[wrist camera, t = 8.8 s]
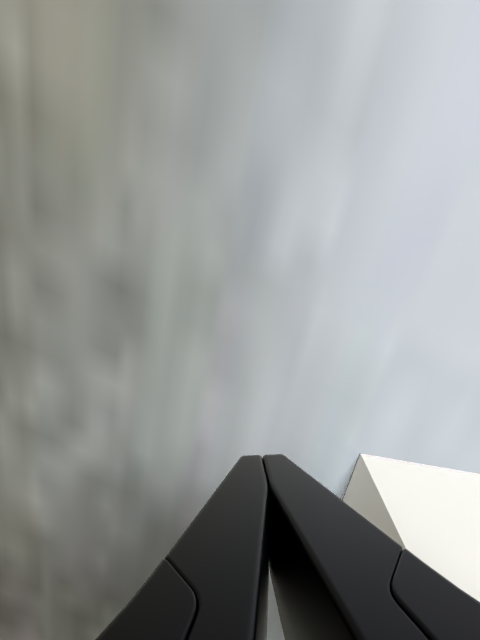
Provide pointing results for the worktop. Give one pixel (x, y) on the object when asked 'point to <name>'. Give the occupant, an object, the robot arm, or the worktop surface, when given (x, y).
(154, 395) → the worktop surface
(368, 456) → the block
